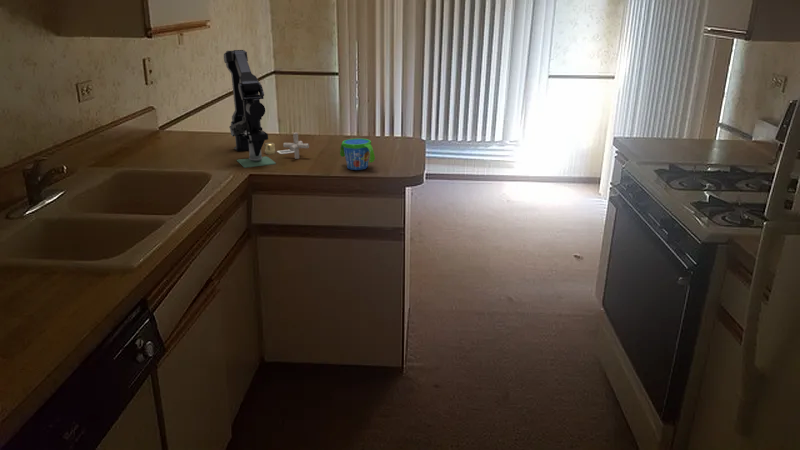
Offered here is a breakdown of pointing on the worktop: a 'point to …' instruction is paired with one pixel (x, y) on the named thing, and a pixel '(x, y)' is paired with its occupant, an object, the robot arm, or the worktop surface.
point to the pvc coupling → (253, 154)
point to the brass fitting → (269, 148)
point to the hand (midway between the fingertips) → (255, 154)
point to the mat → (256, 162)
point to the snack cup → (357, 153)
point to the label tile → (285, 151)
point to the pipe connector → (296, 145)
